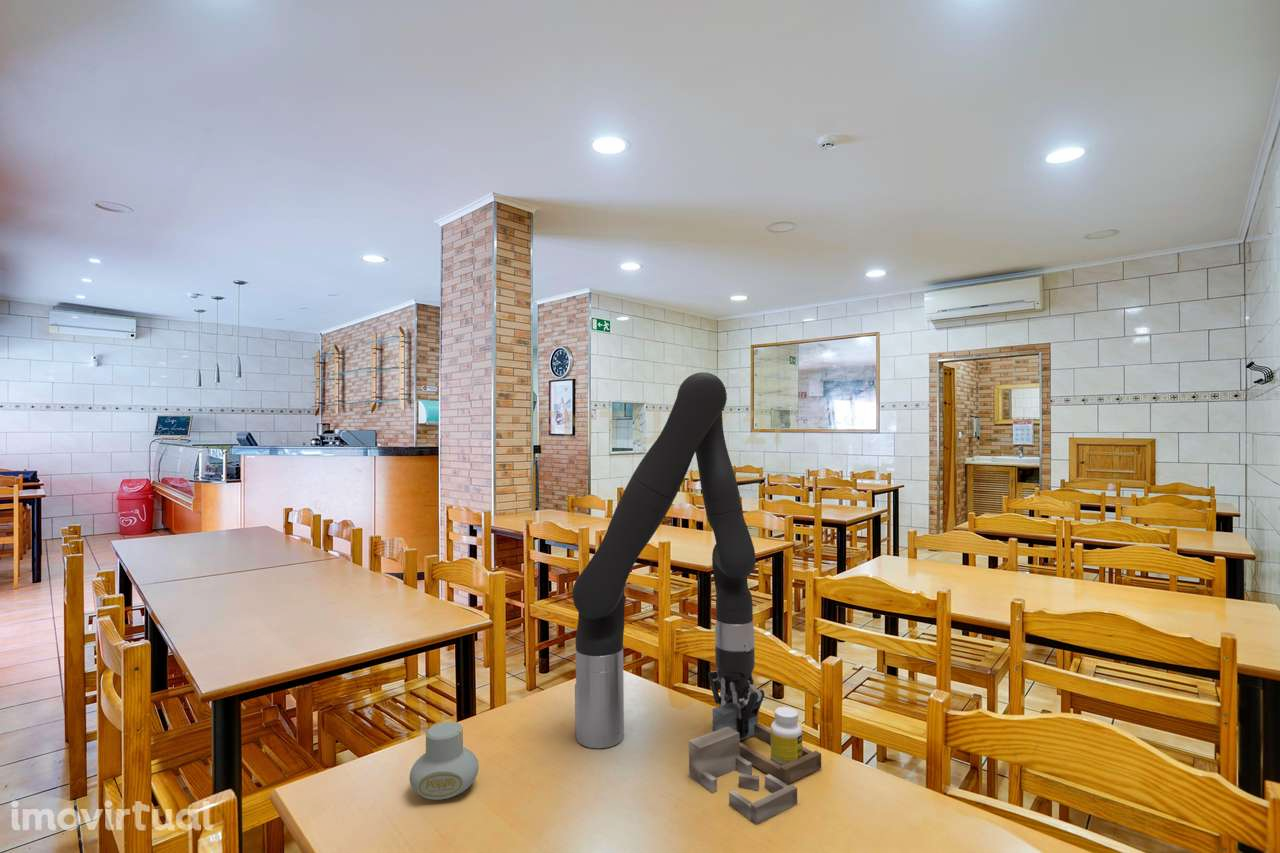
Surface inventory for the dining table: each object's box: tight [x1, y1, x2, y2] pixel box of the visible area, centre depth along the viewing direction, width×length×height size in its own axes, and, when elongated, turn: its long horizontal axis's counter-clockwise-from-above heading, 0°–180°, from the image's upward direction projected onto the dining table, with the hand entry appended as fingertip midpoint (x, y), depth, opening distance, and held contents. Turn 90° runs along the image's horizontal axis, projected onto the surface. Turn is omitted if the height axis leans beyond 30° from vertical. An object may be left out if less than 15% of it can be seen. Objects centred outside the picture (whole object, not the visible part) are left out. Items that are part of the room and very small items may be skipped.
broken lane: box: [688, 727, 798, 825], centre depth 101 cm, size 16×9×6 cm, turn 34°
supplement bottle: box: [770, 706, 803, 766], centre depth 108 cm, size 5×5×10 cm
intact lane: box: [712, 698, 822, 785], centre depth 112 cm, size 18×9×6 cm, turn 34°
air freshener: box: [409, 721, 480, 801], centre depth 102 cm, size 11×8×10 cm
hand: (735, 732), depth 118 cm, fingers closed on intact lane, 3 cm apart
